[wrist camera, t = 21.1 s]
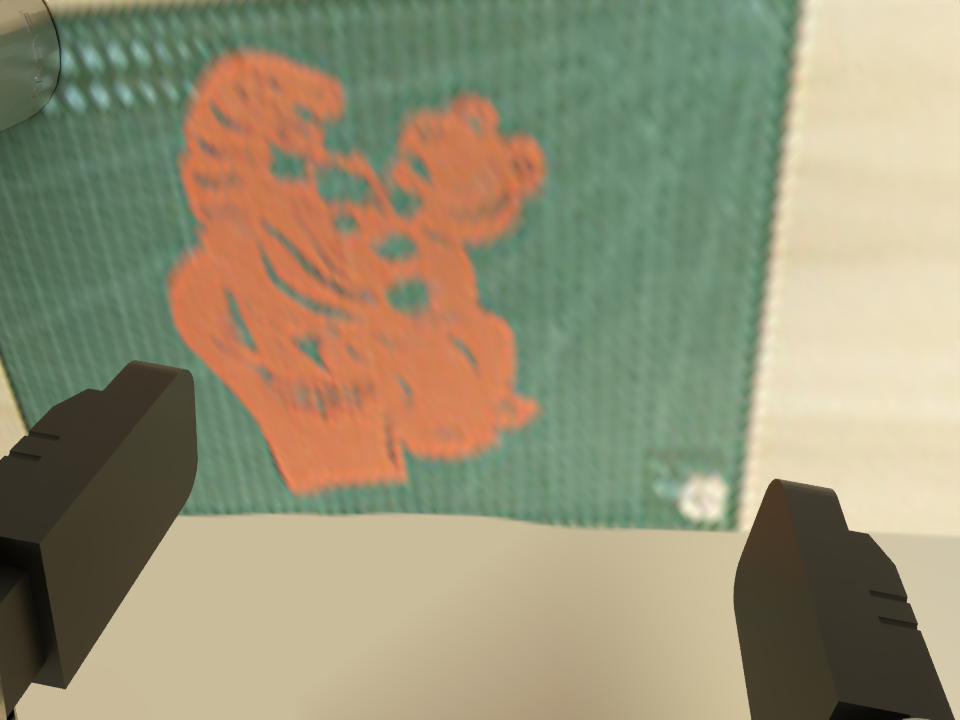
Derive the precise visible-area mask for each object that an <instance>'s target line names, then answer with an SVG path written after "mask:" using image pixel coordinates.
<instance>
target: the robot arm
mask: <svg viewBox="0 0 960 720" xmlns="http://www.w3.org/2000/svg"><path fill="white" fill-rule="evenodd" d="M59 69H60V56H59V45H58V40H57V36H56V31H55V28H54V25H53V23H52V20H51V18H50V15H49V13H48V10H47V8H46V6H45V5H44V3H43V1H42V0H0V132H1V131H3V130H5V129H7V128H9V127H11V126H13V125H16V124H18V123H20V122H22V121H24V120H26V119H28V118H29V117H31V116H32V115H34V114H36V113H37V112H39V111H40V110H41V109H42V107H43V106H44V105H45V104H46V103H47V102H48V101H49V99H50V97H51V95H52V93H53V91H54V89H55V87H56V84H57V79H58V74H59ZM197 461H198V456H197V435H196V415H195V395H194V381H193V377H192V374H191V373H190V371H188V370H186V369H180V368H175V367H169V366H164V365H158V364H153V363H147V362H142V361H136V360H135V361H132V362H130V363H129V364H127V365H126V366H125V367H124V369H123V370H122V371H121V372H120V373H119V374H118V375H117V376H116V377H115V378H114V379H113V380H112V382H111V383H110V384H109V385H108V386H107V387H106V388H105V389H104V390H103V391H99V390H94V389H86V390H84V391H83V392H81V393H79V394H77V395H75V396H73V397H71V398H69V399H67V400H65V401H63V402H61V403H59V404H57V405H55V406H53V407H52V408H51V409H50V410H49V411H48V412H47V413H46V414H45V415H44V416H43V417H42V418H41V419H40V420H39V421H38V422H37V423H36V425H35V426H34V427H33V428H32V429H31V430H30V431H29V435H28V436H24V437H23V438H22V439H21V440H20V441H19V442H18V443H17V444H16V445H15V446H14V447H13V448H12V449H11V450H10V454H9V456H4V457H3V458H2V459H1V460H0V720H18V718H17V713H16V709H15V706H16V704H17V703H18V701H19V699H20V698H21V697H22V695H23V694H24V693H25V691H26V690H27V688H28V687H29V685H30V684H31V682H32V683H37V684H42V685H47V686H52V687H57V688H62V689H66V688H67V686H68V685H69V683H70V682H71V680H72V678H73V677H74V675H75V674H76V672H77V671H78V669H79V668H80V666H81V664H82V663H83V661H84V660H85V658H86V657H87V655H88V654H89V652H90V651H91V649H92V647H93V646H94V644H95V643H96V641H97V640H98V638H99V637H100V635H101V633H102V632H103V630H104V629H105V627H106V626H107V624H108V622H109V621H110V619H111V618H112V616H113V615H114V613H115V612H116V610H117V609H118V607H119V605H120V604H121V602H122V601H123V599H124V598H125V596H126V595H127V593H128V591H129V590H130V588H131V587H132V585H133V584H134V582H135V580H136V579H137V578H138V576H139V574H140V573H141V571H142V570H143V568H144V566H145V565H146V564H147V562H148V560H149V559H150V557H151V556H152V554H153V553H154V551H155V550H156V548H157V546H158V545H159V543H160V542H161V540H162V539H163V537H164V536H165V534H166V532H167V531H168V529H169V528H170V526H171V525H172V523H173V522H174V520H175V519H176V517H177V515H178V514H179V512H180V511H181V509H182V508H183V506H184V505H185V503H186V501H187V499H188V497H189V495H190V493H191V490H192V487H193V484H194V480H195V476H196V471H197ZM734 611H735V617H736V624H737V630H738V637H739V643H740V649H741V656H742V662H743V669H744V675H745V682H746V688H747V694H748V701H749V707H750V714H751V720H955V719H954V716H953V714H952V711H951V708H950V706H949V703H948V701H947V698H946V695H945V693H944V690H943V688H942V685H941V682H940V680H939V677H938V675H937V672H936V670H935V667H934V664H933V662H932V659H931V657H930V654H929V651H928V649H927V646H926V644H925V641H924V639H923V636H922V633H921V631H919V630H917V625H918V623H917V620H916V618H915V615H914V613H913V610H912V607H911V605H910V604H909V603H907V594H906V592H905V589H904V587H903V584H902V581H901V579H900V576H899V574H898V571H897V569H896V566H895V564H894V563H893V562H892V561H891V560H890V558H889V557H888V556H887V555H886V554H885V553H884V552H883V550H882V549H881V548H880V547H879V546H878V545H877V543H876V542H875V541H874V540H873V539H872V538H871V537H870V535H869V534H866V533H860V532H855V531H849V530H848V527H847V524H846V521H845V518H844V515H843V512H842V509H841V506H840V503H839V500H838V497H837V495H836V493H835V492H834V490H832V489H830V488H824V487H819V486H813V485H808V484H802V483H797V482H791V481H786V480H780V479H774V480H773V481H772V482H771V483H770V484H769V486H768V488H767V490H766V493H765V495H764V498H763V500H762V503H761V506H760V508H759V511H758V513H757V516H756V519H755V521H754V524H753V526H752V529H751V532H750V534H749V537H748V539H747V542H746V545H745V547H744V550H743V552H742V555H741V558H740V561H739V563H738V567H737V571H736V577H735V583H734Z"/></svg>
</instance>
